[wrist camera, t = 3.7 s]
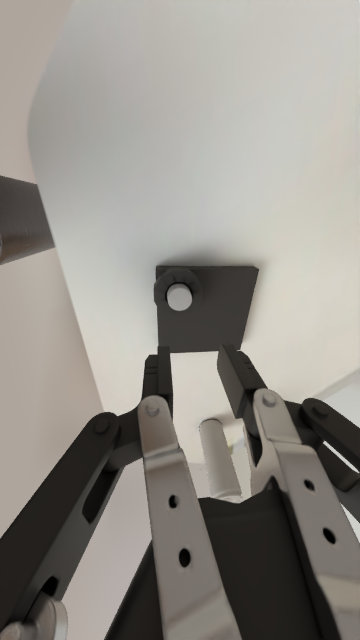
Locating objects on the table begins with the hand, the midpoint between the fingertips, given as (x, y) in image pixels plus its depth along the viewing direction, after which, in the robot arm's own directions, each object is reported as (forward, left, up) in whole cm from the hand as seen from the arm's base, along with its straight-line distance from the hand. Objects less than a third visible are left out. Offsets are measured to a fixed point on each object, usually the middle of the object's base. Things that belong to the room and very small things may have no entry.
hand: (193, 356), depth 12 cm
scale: (+4, -3, -13) cm, 14 cm away
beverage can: (+8, -30, -13) cm, 34 cm away
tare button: (0, 0, -11) cm, 11 cm away
